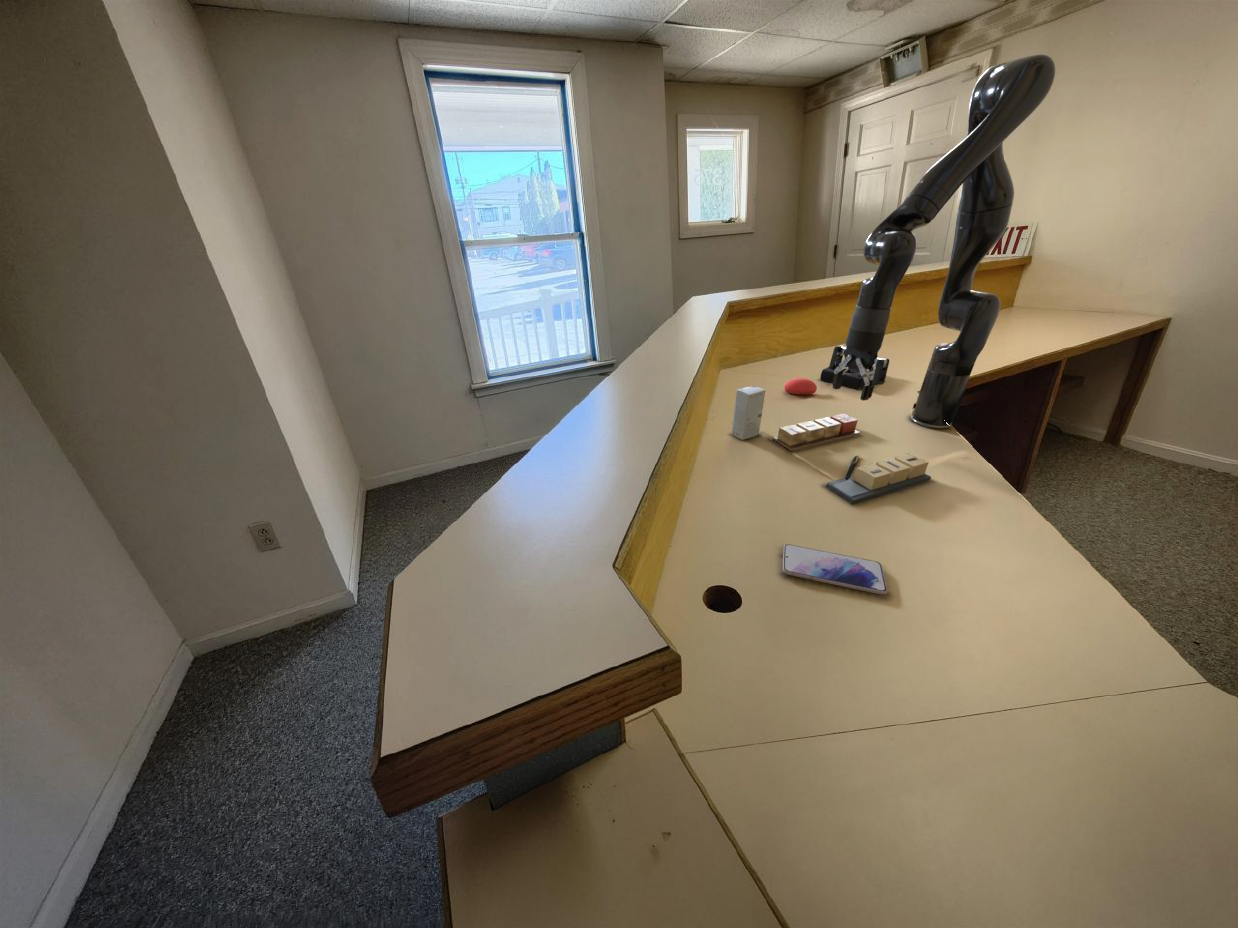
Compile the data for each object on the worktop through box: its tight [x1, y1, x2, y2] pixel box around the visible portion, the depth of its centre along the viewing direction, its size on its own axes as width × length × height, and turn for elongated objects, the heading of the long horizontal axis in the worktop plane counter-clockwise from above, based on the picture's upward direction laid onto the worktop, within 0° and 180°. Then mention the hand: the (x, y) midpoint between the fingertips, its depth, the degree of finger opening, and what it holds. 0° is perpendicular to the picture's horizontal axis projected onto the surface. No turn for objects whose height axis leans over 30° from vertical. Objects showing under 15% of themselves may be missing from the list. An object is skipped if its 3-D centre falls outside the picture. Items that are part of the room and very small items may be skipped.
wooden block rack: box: [825, 452, 932, 505], centre depth 94 cm, size 22×7×4 cm, turn 113°
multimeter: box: [819, 360, 876, 390], centre depth 152 cm, size 13×19×5 cm
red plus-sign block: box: [830, 413, 859, 434], centre depth 116 cm, size 4×4×3 cm
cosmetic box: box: [731, 385, 766, 441], centre depth 113 cm, size 6×4×12 cm
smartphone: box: [782, 543, 888, 596], centre depth 72 cm, size 7×1×15 cm
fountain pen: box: [844, 454, 860, 480], centre depth 99 cm, size 14×1×2 cm, turn 145°
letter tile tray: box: [771, 416, 861, 453], centre depth 113 cm, size 22×7×4 cm, turn 113°
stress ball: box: [783, 377, 818, 396], centre depth 140 cm, size 5×9×6 cm
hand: (850, 394), depth 112 cm, fingers open, 8 cm apart
